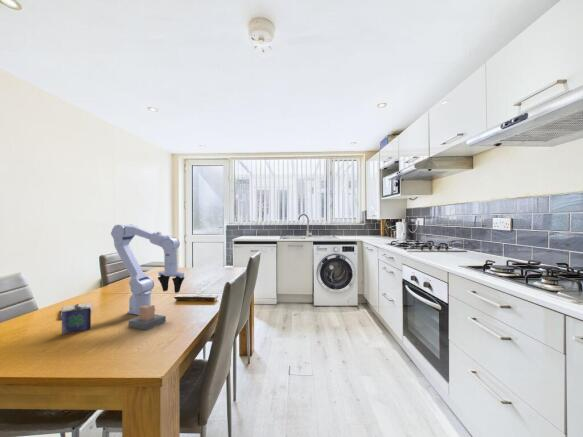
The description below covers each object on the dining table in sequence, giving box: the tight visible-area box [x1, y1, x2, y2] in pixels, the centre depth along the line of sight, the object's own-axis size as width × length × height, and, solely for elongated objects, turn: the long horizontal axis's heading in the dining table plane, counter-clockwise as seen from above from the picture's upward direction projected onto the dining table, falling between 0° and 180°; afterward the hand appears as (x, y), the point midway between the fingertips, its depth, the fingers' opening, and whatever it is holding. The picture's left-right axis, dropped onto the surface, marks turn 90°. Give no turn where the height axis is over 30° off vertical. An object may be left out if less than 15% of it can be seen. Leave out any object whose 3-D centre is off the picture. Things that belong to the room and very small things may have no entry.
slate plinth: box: [128, 313, 167, 331], centre depth 118 cm, size 10×10×3 cm
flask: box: [61, 303, 92, 335], centre depth 111 cm, size 9×3×11 cm, turn 121°
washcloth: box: [60, 302, 93, 321], centre depth 134 cm, size 12×18×3 cm, turn 39°
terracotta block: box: [139, 304, 156, 320], centre depth 118 cm, size 4×4×5 cm
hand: (171, 291), depth 132 cm, fingers open, 7 cm apart
